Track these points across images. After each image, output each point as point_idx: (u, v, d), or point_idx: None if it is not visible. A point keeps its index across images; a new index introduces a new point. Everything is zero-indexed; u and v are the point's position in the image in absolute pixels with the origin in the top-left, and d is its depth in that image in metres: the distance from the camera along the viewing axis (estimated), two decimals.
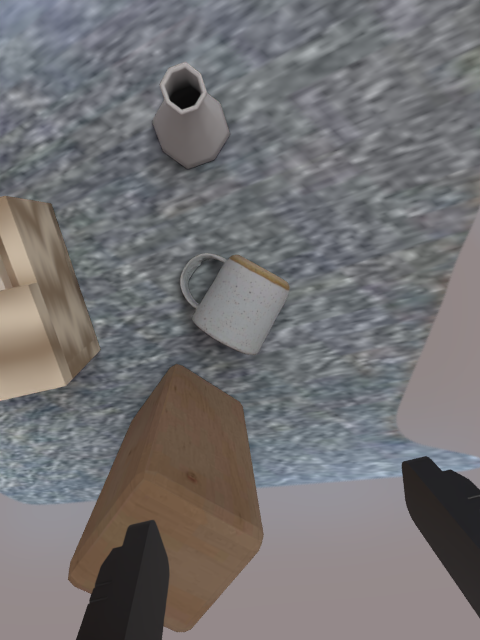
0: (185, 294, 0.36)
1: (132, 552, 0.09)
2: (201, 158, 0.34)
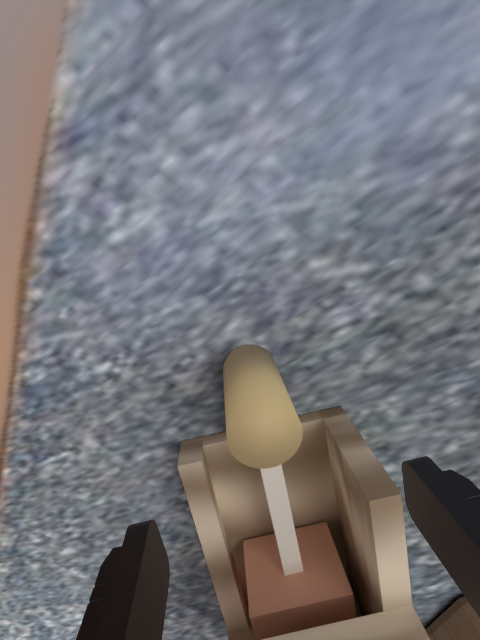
0: None
1: (132, 552, 0.09)
2: None
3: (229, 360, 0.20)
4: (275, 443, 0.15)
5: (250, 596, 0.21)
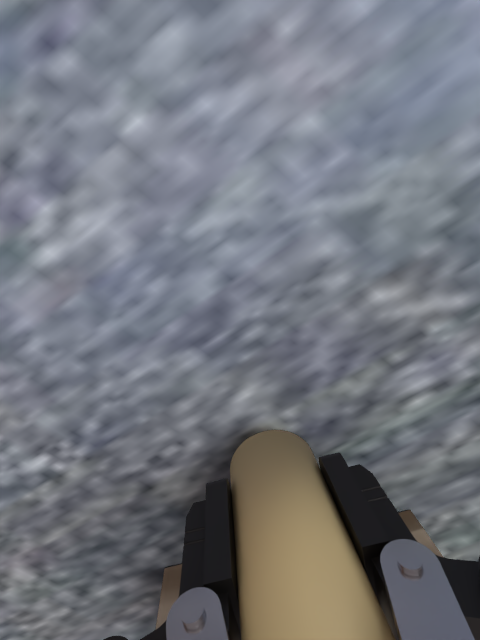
0: None
1: (217, 503, 0.10)
2: None
3: (241, 463, 0.12)
4: None
5: None
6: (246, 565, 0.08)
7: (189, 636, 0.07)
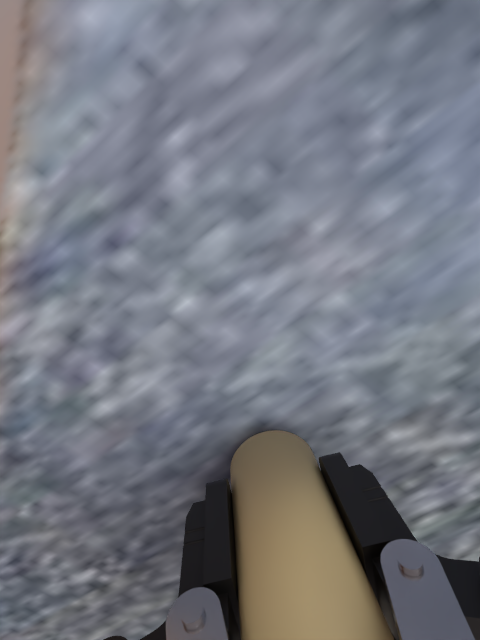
0: None
1: (216, 503, 0.10)
2: None
3: (242, 463, 0.12)
4: None
5: None
6: (246, 565, 0.08)
7: (189, 636, 0.07)
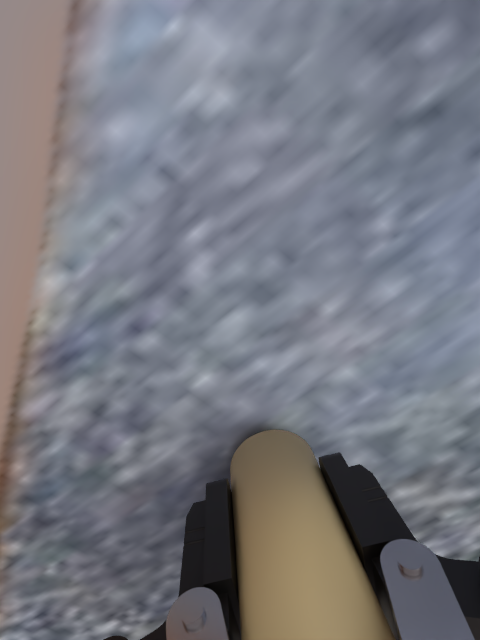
0: None
1: (217, 503, 0.10)
2: None
3: (241, 462, 0.12)
4: None
5: None
6: (246, 565, 0.08)
7: (189, 636, 0.07)
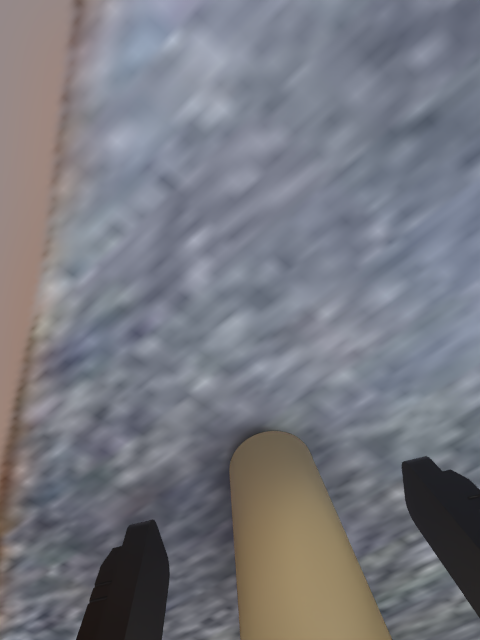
0: None
1: (132, 552, 0.09)
2: None
3: (240, 463, 0.12)
4: None
5: None
6: (245, 563, 0.09)
7: None
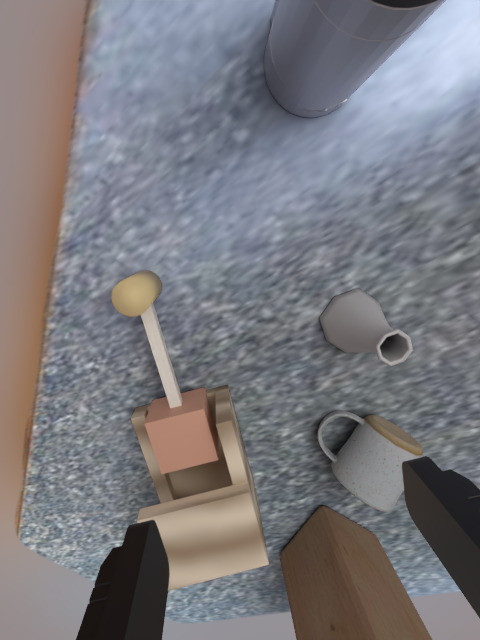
0: (323, 448, 0.41)
1: (132, 552, 0.09)
2: None
3: None
4: (136, 302, 0.30)
5: (148, 417, 0.35)
6: None
7: None
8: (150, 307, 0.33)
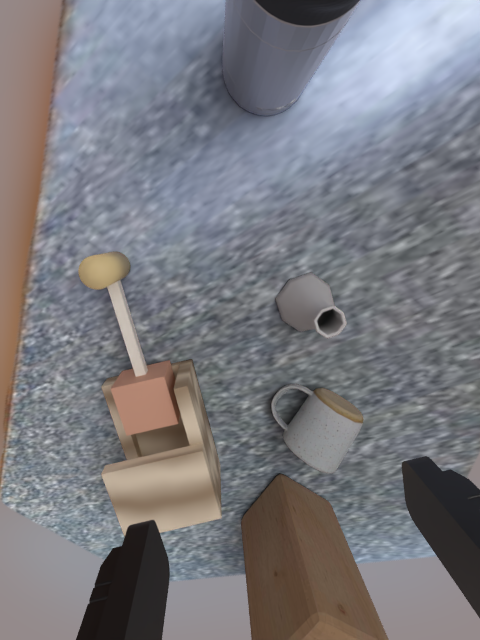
0: (276, 417, 0.45)
1: (132, 552, 0.09)
2: None
3: None
4: (101, 276, 0.33)
5: (114, 384, 0.39)
6: None
7: None
8: (117, 283, 0.37)
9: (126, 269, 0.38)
